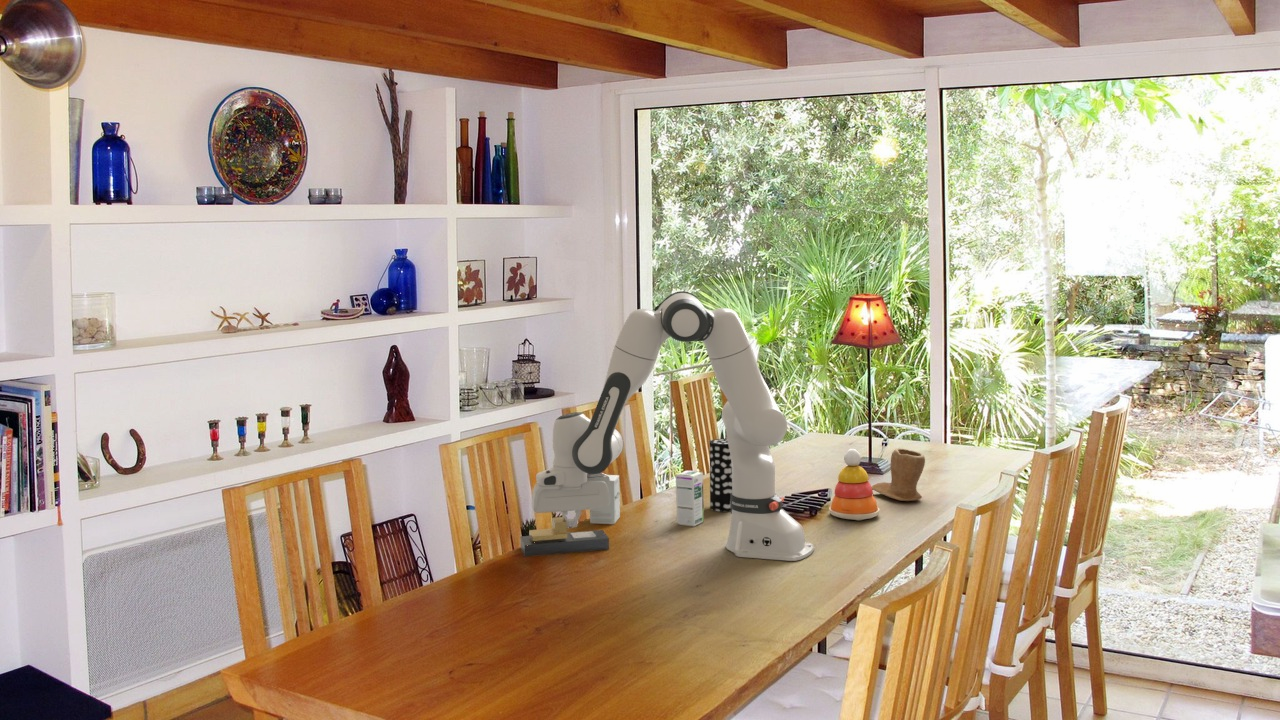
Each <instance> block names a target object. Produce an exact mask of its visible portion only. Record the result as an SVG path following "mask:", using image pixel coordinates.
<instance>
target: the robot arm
mask: <svg viewBox="0 0 1280 720" xmlns="http://www.w3.org/2000/svg"><path fill="white" fill-rule="evenodd" d="M669 338H671V339H673V340H676V341H677V342H682V343H685V342H686V343H687V342H688V343H690V342H702V343H703V345H704V347H705V349H706V352H707V355H708V359H709V361H710V364H711V367H712V370H713V372H714V373H713V374H714V376H715V378H716V382H717V385H718V387H719V389H720V391H722V393H723V395H724V396H725V398H726V402H725V403H724V405H723V406H722V410H721V420H722V422H723V425H724V428H725V433H726V439H727V440H728V445H729V450H730V456H731V463H732V493H731V498H730V511H729V512H730V514H731V517H730V518H731V519H730V527H729V533H728V538H727V542H726V544H725V548H726V550H728V551H730V552H732V553H733V554H734V555H735V556H736V557H739V558H749V559H752V558H753V559H763V560H775V561H786V562H787V561H788V562H789V561H790V562H793V561H794V562H795V561H800V560H803V559H805V558H807V557H810V555H812V554H813V552H814V544H813V543H811V542H808V541H807V542H806V537H805V531H804V528H803V526H802V524H800V522H798V521H797V520H796V519H794V518H793V517H792V516H791V515H789V514H788V512H786V511H785V510H784V509H783V503H784V502H785V497H783V496H782V497H781V498H780V497H779V496H778V495H777V494H776V465H775V461H774V459H773V456H772V452H771V449H770V447H773V446H775V445H777V444H779V443H780V442H781V441H783V439H784V438H785V436H786V433H787V431H788V423H787V419H786V417H785V415H784V414H783V412H782V411H781V410H780V408H779V406H778V404H777V402H776V400H775V398H774V396H773V394H772V392H771V390H770V388H769V386H768V384H767V382H766V381H765V379H764V377H763V375H762V373H761V371H760V367H759V365H758V361H757V358H756V356H755V353H754V349H753V347H752V344H751V341H750V338H749V336H748V332H747V331H746V328H745V326H744V325H743V323H742V321H741V318H740V316H739V315H738V313H737V312H736V311H734V310H733V309H732V308H728V307H718V308H715V309H707V308H706V307H705V306H704V305H703V303H702V302H701V301H700V300H699V298H698V297H697V296H696V295H694V294H693V293H691V292H688V291H685V290H684V291H681V290H680V291H675V292H673V293H671V294H670V295H667V297H665V299H663V300H662V301H661V302H660V303H659V304H658V305H657V306H655V307H654V309H653V310H651V309H647V308H639V309H635V310H633V311H632V312H630V314H629V316H628V317H627V319H626V320H625V322H624V324H623V325H622V327H621V330H620V332H619V335H618V336H617V339H616V342H615V345H614V348H613V351H612V354H611V357H610V360H609V361H610V362H609V365H608V370H607V372H606V376H605V381H604V385H603V388H602V391H601V394H600V397H599V399H598V401H597V404H596V407H595V409H594V412H593V414H592V417H591V418H589V417H587V416H586V415H585V414H584V413H583V412H570V413H565V414H562V415H560V416H559V417H557V418H556V419H555V420H554V424H553V428H552V450H553V453H554V457H553V462H552V464H553V465H552V467H550V468H547V469H546V470H541V471H540V472H537V473H536V475H535V479H536V480H535V481H536V483H535V484H534V486H533V489H532V495H531V508H532V511H534V512H535V514H544V513H545V514H546V513H547V514H548V513H557V512H558V513H559V512H560V514H561V517H564V519H565V520H566V522H567V529H568V528H577V527H578V521H579V519H580V518H581V515H582V511H586V510H590V509H602V508H607V507H608V506H609V505H610V499H609V492H608V488H609V486H610V478H609V476H608V475H609V474H605V470H606V469H607V468H609V466H610V465H611V464H612V463H613V462H614V461H615V460H616V459H617V458H618V457H619V456H620V455H621V453H622V452H623V449H624V444H625V443H624V439H623V436H622V434H621V432H620V431H619V430H618V429H616V428H617V425H618V422H619V419H620V417H621V415H622V411H623V410H624V407H625V405H626V404H627V403H628V401H629V400H630V398H631V397H633V395H635V393H636V392H638V390H639V389H640V388H642V386H644V384H645V383H646V381H647V380H648V378H649V376H650V374H651V373H652V371H653V369H654V367H655V364H656V362H657V359H658V356H659V352H660V350H661V347H662V345H663V344H664V342H665V341H667V340H668V339H669ZM604 476H606V477H604ZM570 511H571V512H572V511H574V513H575V515H574V517H573V518H572V519H571V518H570V519H569V518H568V517H567V516H568V512H570Z"/></svg>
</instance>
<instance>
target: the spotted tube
mask: <svg viewBox="0 0 1280 720" xmlns="http://www.w3.org/2000/svg"><path fill="white" fill-rule="evenodd" d="M731 493H732V463H731V456H730V450H729V445H728V440H727V438H716V439H711V440H709V506H710V507H709V509H711V510H712V511H714V512H720V513H721V512H722V513H725V512H731V511H730V498H731Z"/></svg>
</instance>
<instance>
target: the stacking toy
mask: <svg viewBox="0 0 1280 720" xmlns="http://www.w3.org/2000/svg"><path fill="white" fill-rule="evenodd" d="M843 458H844V459H843V461H844V463H845V464H846V465H847V466H844V467H843V468H842V469H841V470H840V471H839V473H838V477H837V481H838V482H837V483H836V485H835V489H834V496H833V498H832V501H831V504H830V506H829V507H828V511H829V513H830V514H831V515H832V516H834V517H836V518H840V519H844V520H845V519H846V520H855V521H863V520H867V519H872V518H874V517H875V518H876V517H877V516H878V515H879V513H880V508H879V506H878V504H877V501H876V498H875V497H874V495H873V494H874V490H872V485H871V483H870V482H869V475H868V473H867V470H865V468H863V467H862V466H860V464H861V461H862V457H861V453H860V452H859V451H858V450H857V449H855V448H849V449H848V450H847V451H845V454H844V455H843Z"/></svg>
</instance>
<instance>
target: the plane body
mask: <svg viewBox="0 0 1280 720" xmlns="http://www.w3.org/2000/svg"><path fill="white" fill-rule="evenodd" d="M534 542H535V543H534ZM527 545H528V546H527ZM520 550H521V551H523V552H522V554H523V553H524V554H523V556H524V557H525V556H526V557H536V556H537V555H538V556H547V555H549V556H550V555H557V554H556V553H561V554H571V553H570V552H573V553H582V552H584V553H585V552H594V551H595V552H596V551H605V550H606V551H607V550H610V538H609V536H608V535H607V534H606V532H605V531H604V530H603V529H600V530H586V531H574V532H567V538H564V539H552V540H540V541H532V539H531V537H530V535H526V536H525V535H524V536H520ZM538 556H537V557H538Z"/></svg>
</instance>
